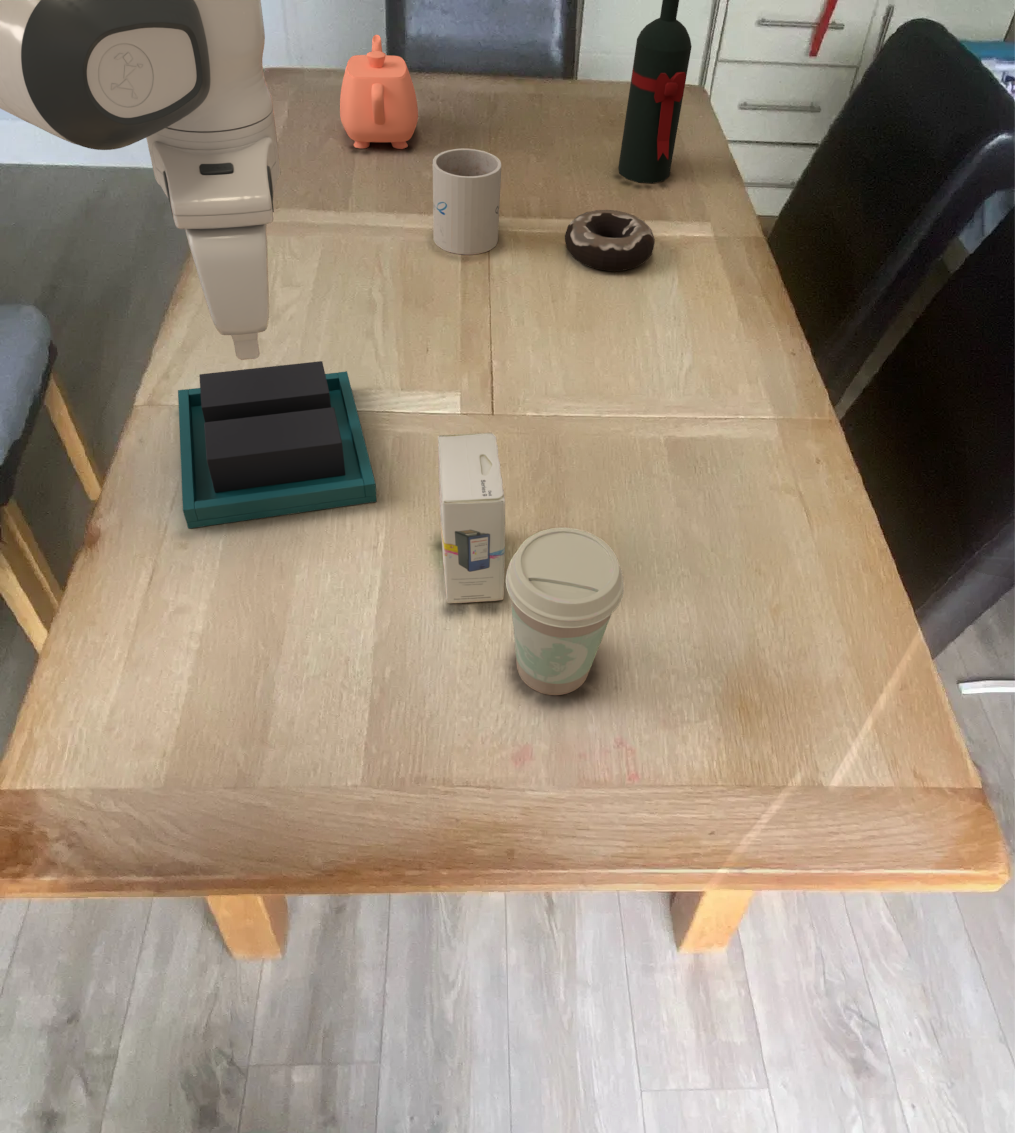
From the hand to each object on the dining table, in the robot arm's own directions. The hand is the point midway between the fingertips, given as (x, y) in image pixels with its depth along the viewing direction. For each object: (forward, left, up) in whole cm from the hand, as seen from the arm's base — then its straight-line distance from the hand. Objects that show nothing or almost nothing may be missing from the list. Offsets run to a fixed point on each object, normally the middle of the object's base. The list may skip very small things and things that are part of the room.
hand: (243, 322), depth 74 cm
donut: (+47, +35, -17) cm, 61 cm away
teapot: (+24, +77, -17) cm, 83 cm away
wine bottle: (+61, +57, -17) cm, 85 cm away
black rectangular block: (+1, +8, -16) cm, 18 cm away
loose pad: (+1, 0, -16) cm, 16 cm away
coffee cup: (+20, -28, -17) cm, 38 cm away
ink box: (+16, -16, -17) cm, 28 cm away
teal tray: (+1, +3, -17) cm, 17 cm away
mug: (+30, +44, -17) cm, 56 cm away
